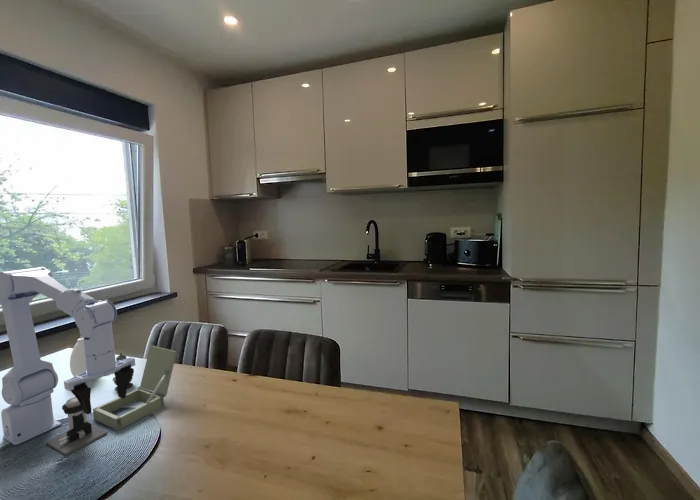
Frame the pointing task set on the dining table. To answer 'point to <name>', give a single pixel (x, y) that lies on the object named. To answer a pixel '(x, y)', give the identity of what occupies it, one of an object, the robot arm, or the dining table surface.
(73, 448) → the mat
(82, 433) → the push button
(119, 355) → the grey tall tiered piece
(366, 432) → the dining table surface
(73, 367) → the sauce bottle
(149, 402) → the equipment case
